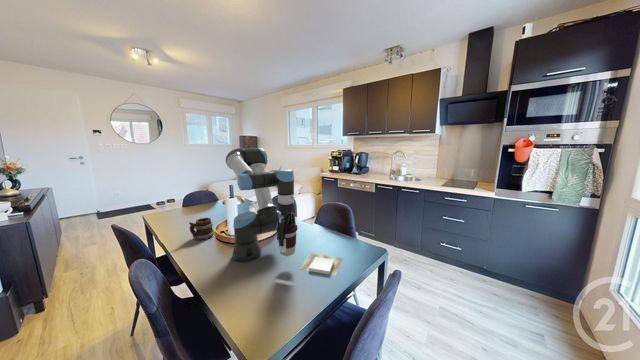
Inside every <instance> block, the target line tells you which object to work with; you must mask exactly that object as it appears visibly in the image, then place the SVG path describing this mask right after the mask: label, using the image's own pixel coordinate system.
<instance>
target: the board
mask: <svg viewBox="0 0 640 360" xmlns="http://www.w3.org/2000/svg"><path fill="white" fill-rule="evenodd" d="M315 257H319V258H326V259H332V260H334V265H333V268H332V270H331V272H330V275H329V276H333V277H336V276H337V275H338V272H339V269H340V266H341V263H342V262H343V261H342V260H343V257H339V256H333V255H331V256H330V255H325V254H318V253H317V254H316V253H309V255H307V258H306V259H305V261H304V262H303V264H302V265H301V266H300V268H299V271H304V272H305V271H306V272H309V267H310V265H311V263H312V262H313V260H314V258H315Z"/></svg>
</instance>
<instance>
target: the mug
mask: <svg viewBox="0 0 640 360" xmlns="http://www.w3.org/2000/svg"><path fill="white" fill-rule="evenodd" d="M188 224H189V232H190V233H191V235H192V238H195V239H196V240H197V239H198V240H197V241H204V240H203V239H205V240H208V239H207V238H209V239H211V238H213V237H214V236H213V235H215V230H214V229H213V222H212V219H211V217H201V218H198V219H196V220H195V223H194V222H191V221H189V222H188ZM212 236H213V237H212ZM210 237H211V238H210Z"/></svg>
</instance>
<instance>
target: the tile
mask: <svg viewBox="0 0 640 360" xmlns="http://www.w3.org/2000/svg"><path fill="white" fill-rule="evenodd" d="M333 265H334V260H332V259H326V258H319V257H315V258H314V260H313V262H312V263H311V265H310V267H309V271H308V272H309V273H316V274H321V275H322V274H323V275H327V276H331V275H330V272H331V270H332V268H333Z"/></svg>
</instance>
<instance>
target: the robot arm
mask: <svg viewBox="0 0 640 360" xmlns="http://www.w3.org/2000/svg"><path fill="white" fill-rule="evenodd" d="M268 162H269V161H268V155H267V152H266V150H265V149H263V148H262V147H246V148H245V147H243V148H241V147H237V148H234V149H232V150H230V151H229V152H228V153H227V154H226V156H225V164H226V166H227V167H228V168H229V169H230V170H232V171H233V173H234V174H235V175H236V176H237V186H238V189H239V190H240V191H251V190H254V193H255V198H256V202H257V206H258V209H257V210H256V212H255V211H246V212H242V213H240V214H238V215H236V216H235V217H234V218H233V233H234V234H233V235H234V247H233V251H232V259H233V260H234V261H236V262H241V263H243V262H246V263H247V262H250V261H254V260H256V259H258V258H259V257H260V256H261V255H262V248H261V246H260V245H261V244H260V242H259V240H258V236H260V235H263V234H267V233H272V232H276V240H277V241H278V240H280V247H279V253H280V252H286V239H285V230H286V226H287V225H288V222H293V223H294V224H296V225H297V222H296V216H295V199H296V197H295V176H294V170H293V169H291V168H289V169H288V168H281V169H280V168H279V169H272V170H269V171H266V170H265V169H266V167H267V165H268ZM275 187H276V189H277V205H276V204H274V202H273V198H272V194H271V190H270V188H275ZM284 222H286V223H284ZM277 226H278V228H277V230H276V227H277ZM283 231H284V232H283Z"/></svg>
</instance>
